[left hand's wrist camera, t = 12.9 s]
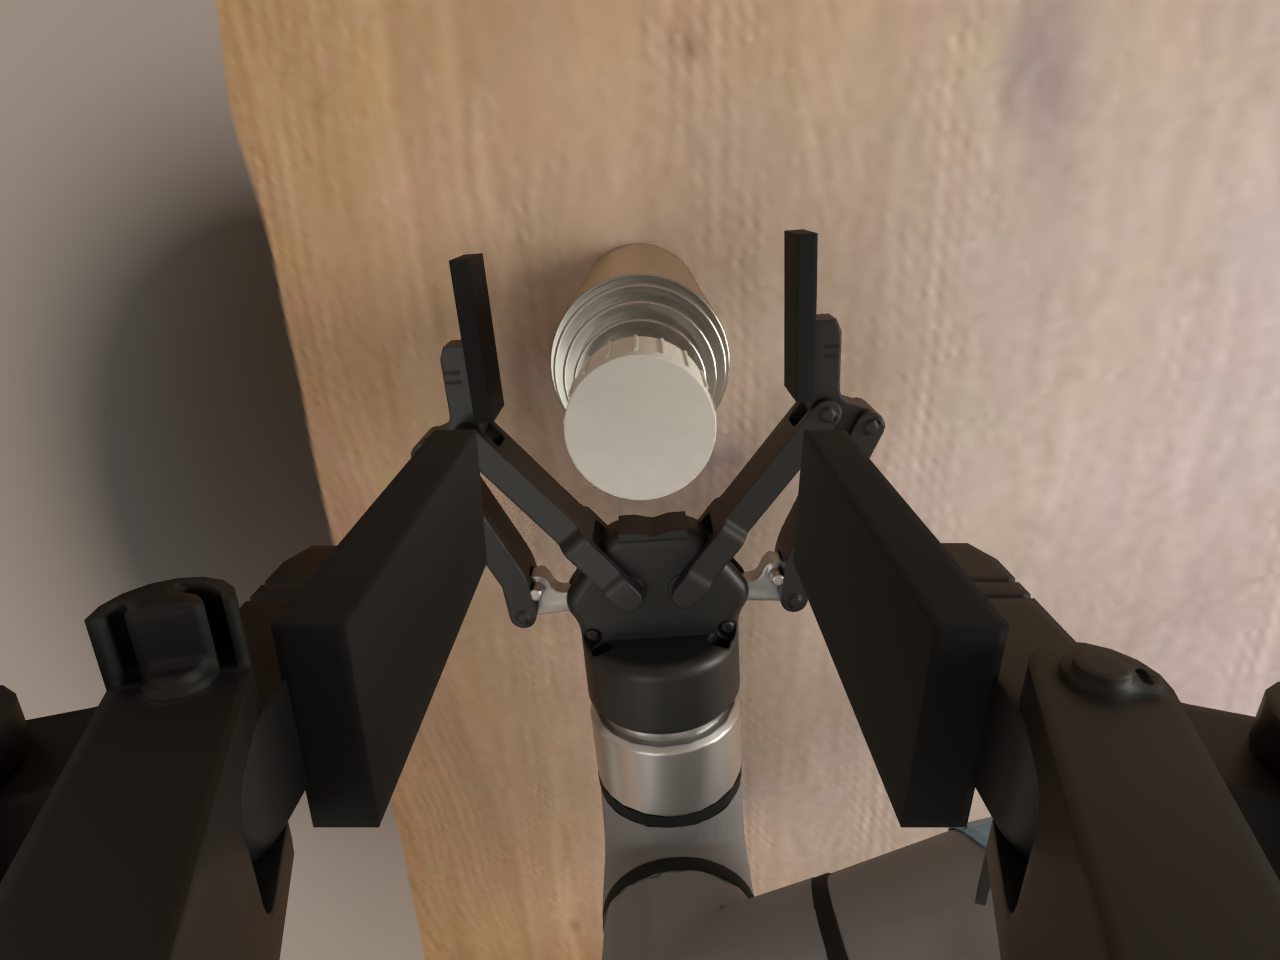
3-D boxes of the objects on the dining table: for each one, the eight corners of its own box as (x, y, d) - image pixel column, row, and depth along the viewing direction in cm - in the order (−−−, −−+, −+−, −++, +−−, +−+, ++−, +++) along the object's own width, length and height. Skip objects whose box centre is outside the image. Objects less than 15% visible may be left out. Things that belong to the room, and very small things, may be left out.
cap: (723, 452, 21) (732, 483, 18) (591, 483, 21) (585, 517, 19) (693, 318, 19) (700, 335, 17) (552, 354, 20) (541, 375, 17)
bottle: (711, 349, 37) (779, 504, 19) (598, 377, 38) (559, 554, 20) (685, 229, 35) (733, 276, 17) (565, 261, 36) (488, 338, 18)
